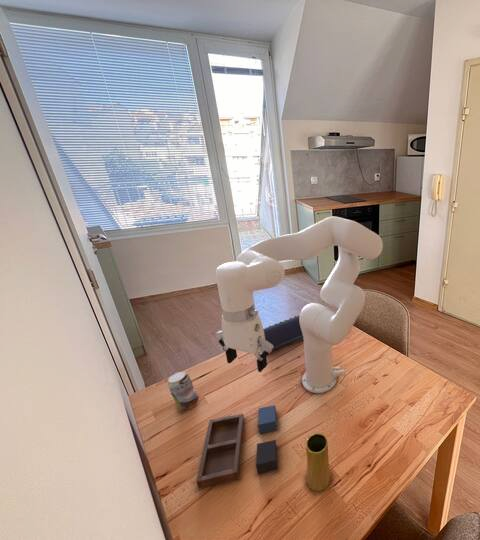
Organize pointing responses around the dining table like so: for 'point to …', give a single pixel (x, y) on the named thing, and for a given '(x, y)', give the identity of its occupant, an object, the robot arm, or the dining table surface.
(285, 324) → the portable speaker
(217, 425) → the brown divided wooden tray
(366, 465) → the dining table surface
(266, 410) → the blue rectangular block
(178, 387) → the beverage can
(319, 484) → the vase
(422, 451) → the dining table surface
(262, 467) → the dark grey rectangular block
